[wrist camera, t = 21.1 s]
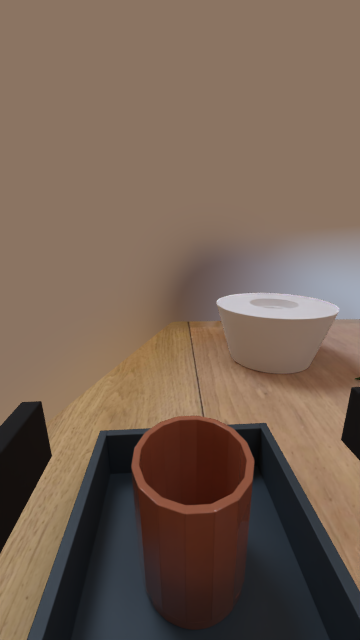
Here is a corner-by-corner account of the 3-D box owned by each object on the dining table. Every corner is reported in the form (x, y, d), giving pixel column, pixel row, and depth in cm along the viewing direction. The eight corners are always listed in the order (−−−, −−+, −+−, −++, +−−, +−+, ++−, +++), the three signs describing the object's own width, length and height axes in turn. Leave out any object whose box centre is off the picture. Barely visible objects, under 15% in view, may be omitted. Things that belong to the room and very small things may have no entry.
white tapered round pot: (295, 335, 70) (300, 291, 66) (358, 380, 47) (371, 317, 43) (207, 338, 69) (208, 293, 65) (227, 385, 46) (230, 320, 42)
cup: (135, 635, 16) (123, 517, 13) (145, 509, 24) (138, 417, 21) (260, 625, 17) (274, 508, 14) (230, 504, 24) (235, 413, 21)
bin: (17, 808, 12) (-12, 746, 10) (105, 474, 28) (100, 430, 27) (391, 766, 12) (422, 702, 11) (261, 465, 29) (265, 422, 28)
